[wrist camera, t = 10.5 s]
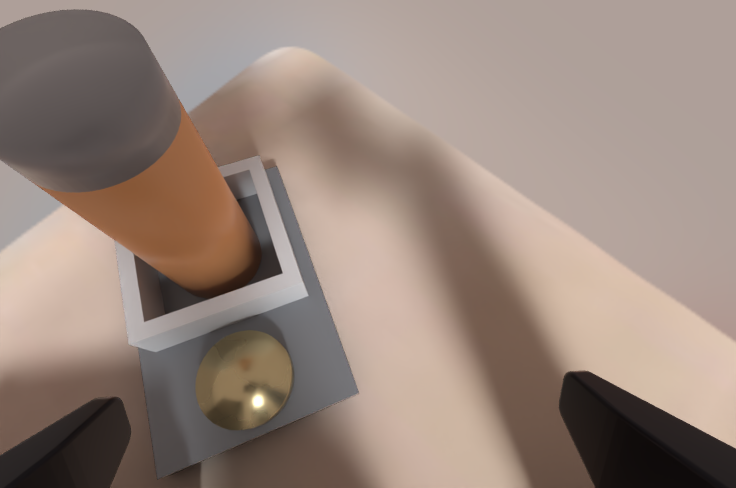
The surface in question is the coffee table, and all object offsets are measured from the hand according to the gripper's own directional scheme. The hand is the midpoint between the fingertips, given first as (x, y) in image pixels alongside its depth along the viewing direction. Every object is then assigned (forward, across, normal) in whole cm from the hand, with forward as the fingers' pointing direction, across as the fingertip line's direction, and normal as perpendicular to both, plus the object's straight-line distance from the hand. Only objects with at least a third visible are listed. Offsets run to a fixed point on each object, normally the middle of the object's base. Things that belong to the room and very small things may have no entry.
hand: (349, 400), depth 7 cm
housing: (+14, +7, +5) cm, 16 cm away
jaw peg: (+14, +8, +2) cm, 17 cm away
